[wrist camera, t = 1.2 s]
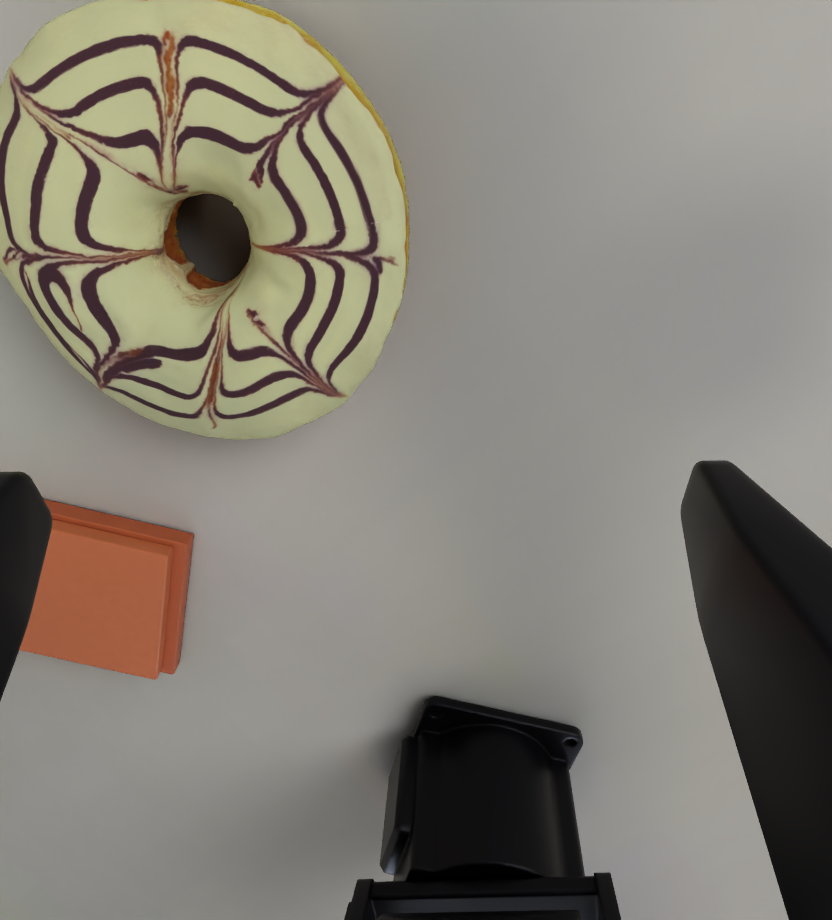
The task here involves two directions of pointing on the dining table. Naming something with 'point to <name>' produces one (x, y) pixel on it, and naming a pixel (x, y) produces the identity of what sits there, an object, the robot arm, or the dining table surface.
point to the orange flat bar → (111, 593)
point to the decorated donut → (189, 174)
